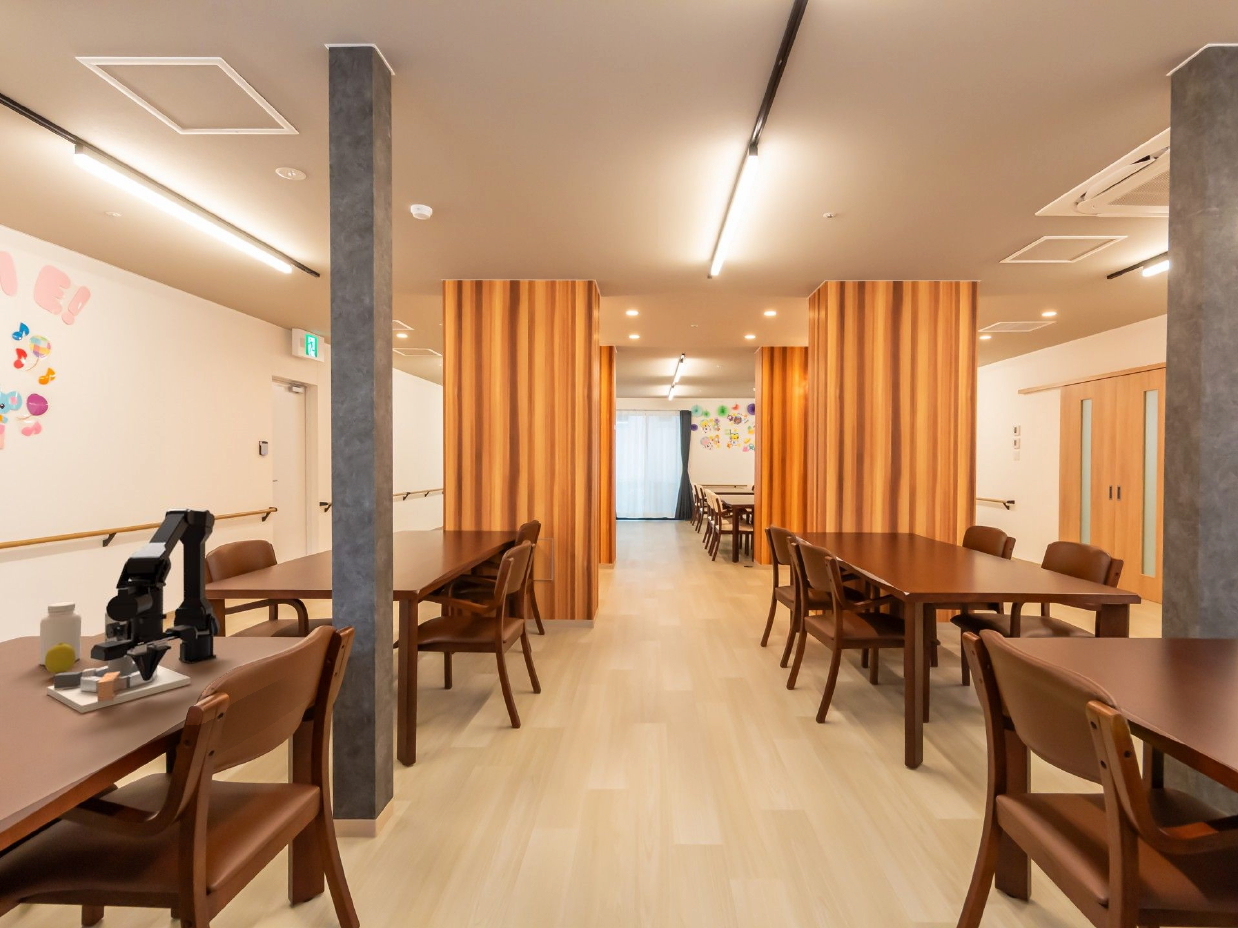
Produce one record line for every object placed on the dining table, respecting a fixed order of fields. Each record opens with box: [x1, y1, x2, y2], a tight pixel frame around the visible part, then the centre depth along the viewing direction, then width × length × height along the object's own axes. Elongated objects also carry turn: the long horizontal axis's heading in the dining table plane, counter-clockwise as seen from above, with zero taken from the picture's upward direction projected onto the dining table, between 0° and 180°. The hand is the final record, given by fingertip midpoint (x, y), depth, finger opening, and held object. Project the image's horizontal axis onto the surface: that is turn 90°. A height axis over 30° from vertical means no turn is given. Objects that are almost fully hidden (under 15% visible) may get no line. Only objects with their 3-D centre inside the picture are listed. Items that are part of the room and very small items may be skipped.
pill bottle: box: [38, 601, 82, 666], centre depth 159 cm, size 8×8×15 cm
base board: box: [46, 655, 191, 714], centre depth 140 cm, size 20×20×8 cm
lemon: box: [44, 643, 76, 675], centre depth 148 cm, size 6×6×8 cm
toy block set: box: [81, 661, 157, 702], centre depth 137 cm, size 20×13×4 cm, turn 29°
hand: (146, 680), depth 136 cm, fingers closed
